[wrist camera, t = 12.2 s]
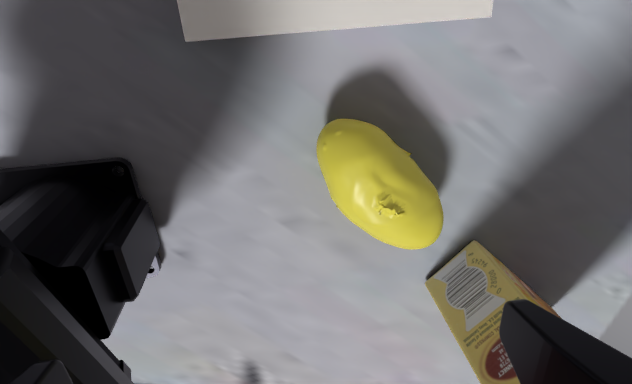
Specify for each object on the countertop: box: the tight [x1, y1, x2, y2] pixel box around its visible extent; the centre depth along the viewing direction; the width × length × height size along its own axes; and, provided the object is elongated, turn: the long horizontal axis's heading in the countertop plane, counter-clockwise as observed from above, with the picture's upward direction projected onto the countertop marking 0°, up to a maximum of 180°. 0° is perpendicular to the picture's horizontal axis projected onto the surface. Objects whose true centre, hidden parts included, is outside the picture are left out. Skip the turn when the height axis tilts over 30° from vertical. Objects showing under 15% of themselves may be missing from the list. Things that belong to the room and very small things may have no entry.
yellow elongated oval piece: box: [317, 119, 443, 249], centre depth 18 cm, size 4×8×4 cm, turn 37°
